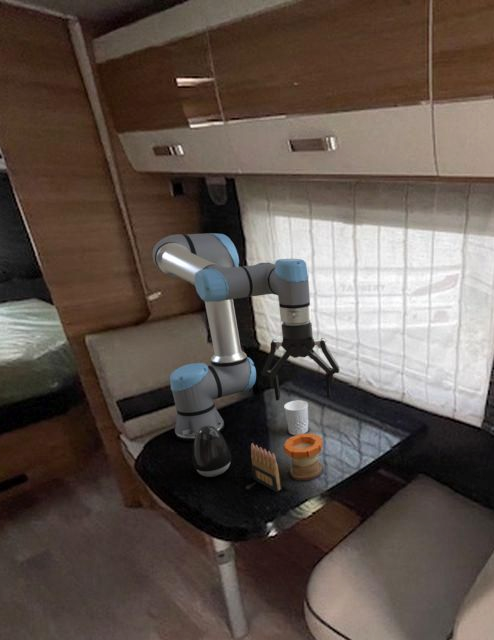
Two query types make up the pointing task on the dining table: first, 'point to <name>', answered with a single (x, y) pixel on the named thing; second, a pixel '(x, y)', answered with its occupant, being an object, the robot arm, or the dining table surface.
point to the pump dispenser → (210, 452)
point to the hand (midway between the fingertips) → (303, 397)
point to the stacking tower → (305, 465)
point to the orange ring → (303, 438)
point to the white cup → (297, 417)
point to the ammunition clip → (265, 468)
